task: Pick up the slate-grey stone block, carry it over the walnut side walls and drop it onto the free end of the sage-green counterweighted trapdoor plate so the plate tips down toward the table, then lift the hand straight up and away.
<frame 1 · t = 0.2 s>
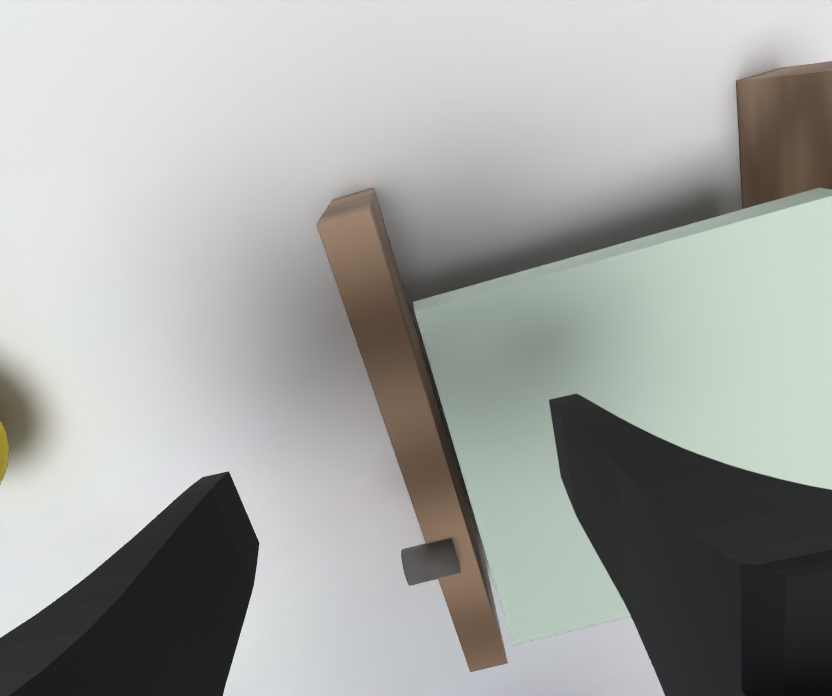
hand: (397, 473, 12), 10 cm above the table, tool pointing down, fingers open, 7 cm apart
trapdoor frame: (601, 426, 24), on the table
trapdoor: (627, 423, 20), point 4 cm above the table, hinge at 0.0°
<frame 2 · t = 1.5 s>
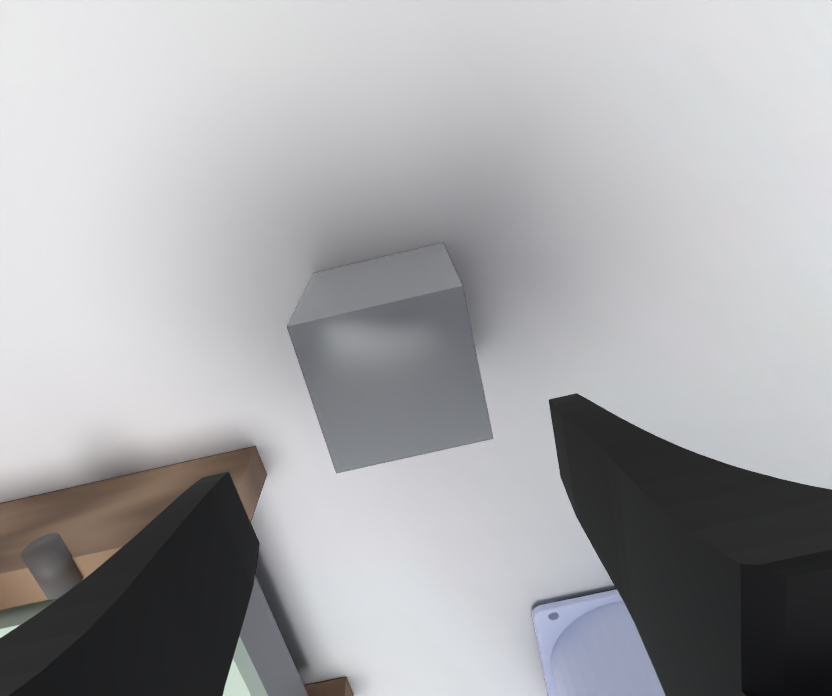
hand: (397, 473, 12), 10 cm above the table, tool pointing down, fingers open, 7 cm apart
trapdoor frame: (189, 610, 27), on the table
trapdoor: (111, 688, 24), point 3 cm above the table, hinge at 0.0°
stone: (393, 318, 22), on the table
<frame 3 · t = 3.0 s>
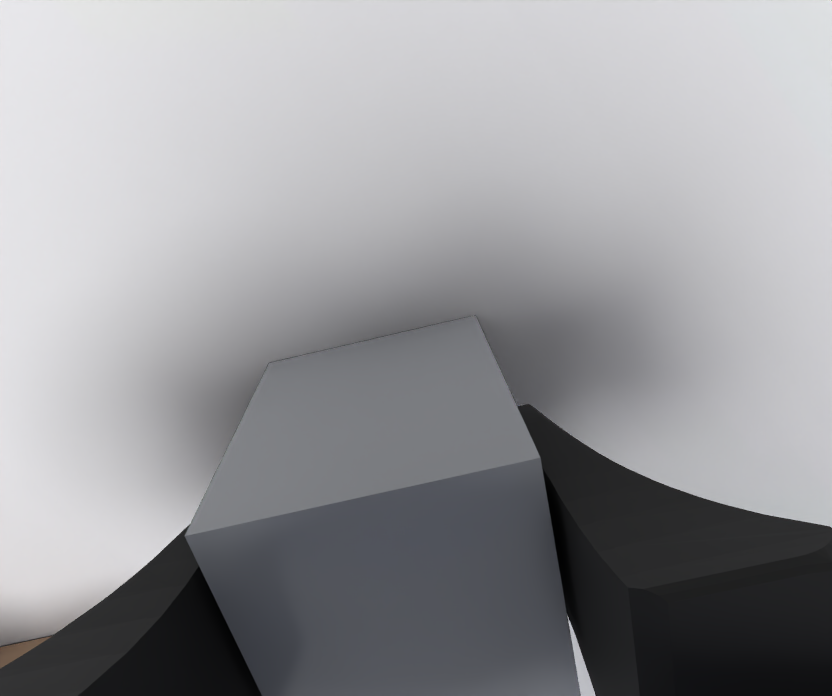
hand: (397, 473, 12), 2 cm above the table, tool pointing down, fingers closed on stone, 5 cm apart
stone: (396, 429, 14), on the table, touching gripper
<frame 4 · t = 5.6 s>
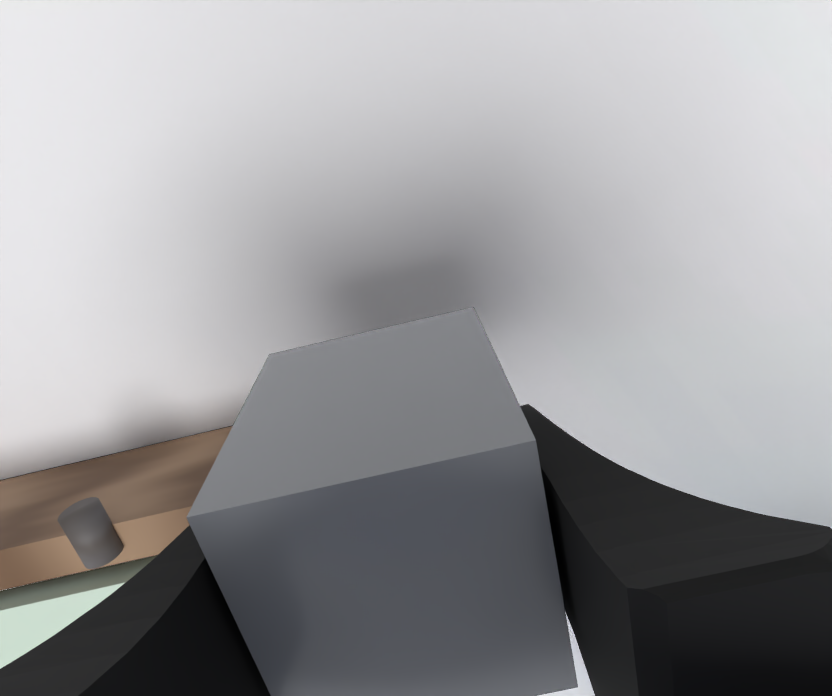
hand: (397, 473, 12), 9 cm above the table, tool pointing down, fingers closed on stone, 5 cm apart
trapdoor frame: (226, 590, 25), on the table
trapdoor: (148, 671, 22), point 3 cm above the table, hinge at 0.0°
stone: (395, 420, 14), point 7 cm above the table, touching gripper
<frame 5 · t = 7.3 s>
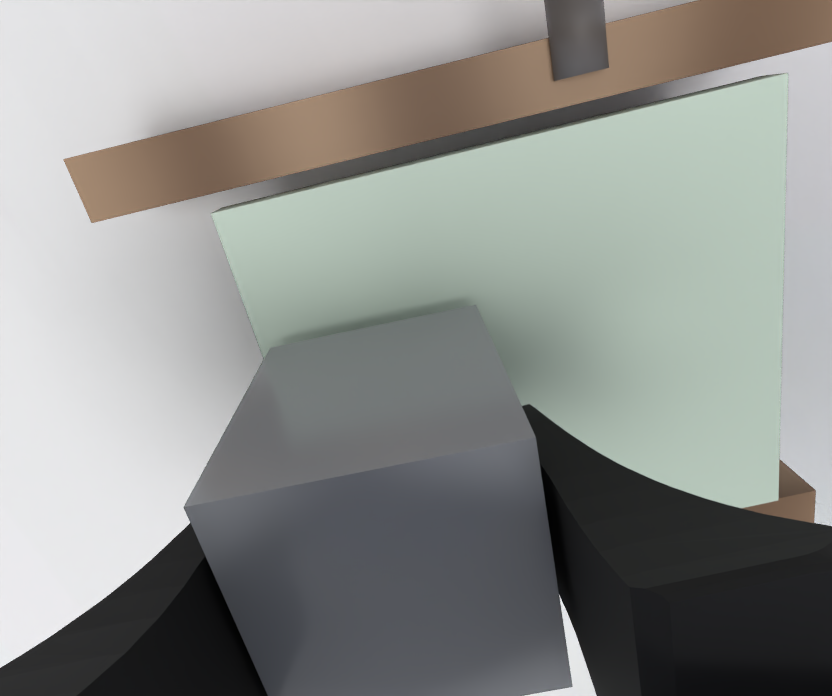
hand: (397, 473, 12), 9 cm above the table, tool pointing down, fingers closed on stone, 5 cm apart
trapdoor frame: (556, 297, 20), on the table
trapdoor: (515, 347, 17), point 3 cm above the table, hinge at 0.0°
stone: (395, 416, 14), point 6 cm above the table, touching gripper
when the fingers open (8 cm above the table, at t = 8.3 s): stone drops 2 cm, resting on trapdoor.
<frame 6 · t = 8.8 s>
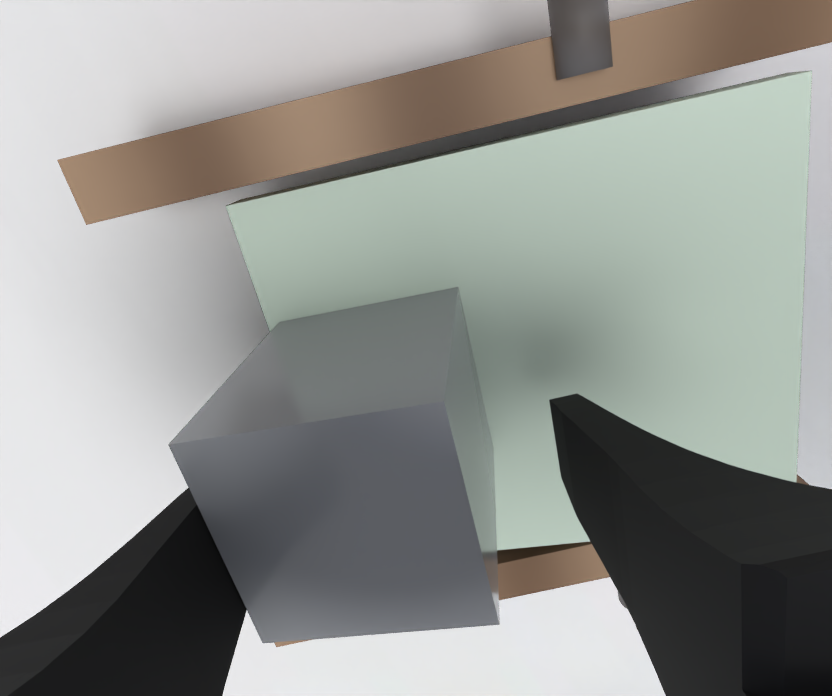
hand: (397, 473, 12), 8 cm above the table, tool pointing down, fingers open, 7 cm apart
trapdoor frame: (558, 299, 20), on the table
trapdoor: (523, 344, 17), point 3 cm above the table, hinge at -9.2°, touching stone
stone: (389, 387, 16), point 5 cm above the table, tilted 9°, touching gripper, trapdoor
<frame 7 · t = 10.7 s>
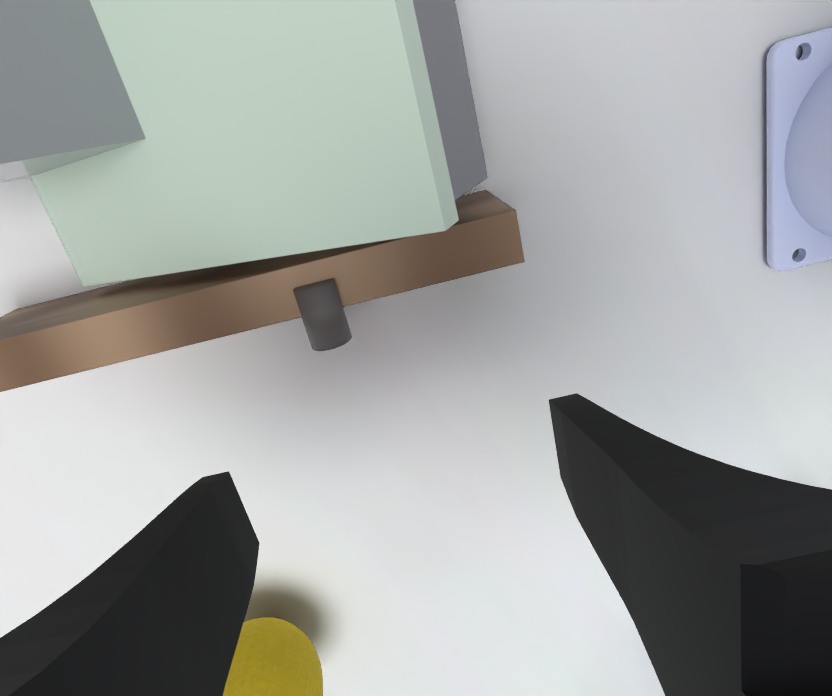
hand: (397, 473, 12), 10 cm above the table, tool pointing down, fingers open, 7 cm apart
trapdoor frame: (266, 37, 18), on the table
trapdoor: (200, 36, 16), point 3 cm above the table, hinge at -25.8°, touching stone
lemon: (274, 619, 28), on the table
stone: (47, 66, 16), point 3 cm above the table, tilted 26°, touching trapdoor
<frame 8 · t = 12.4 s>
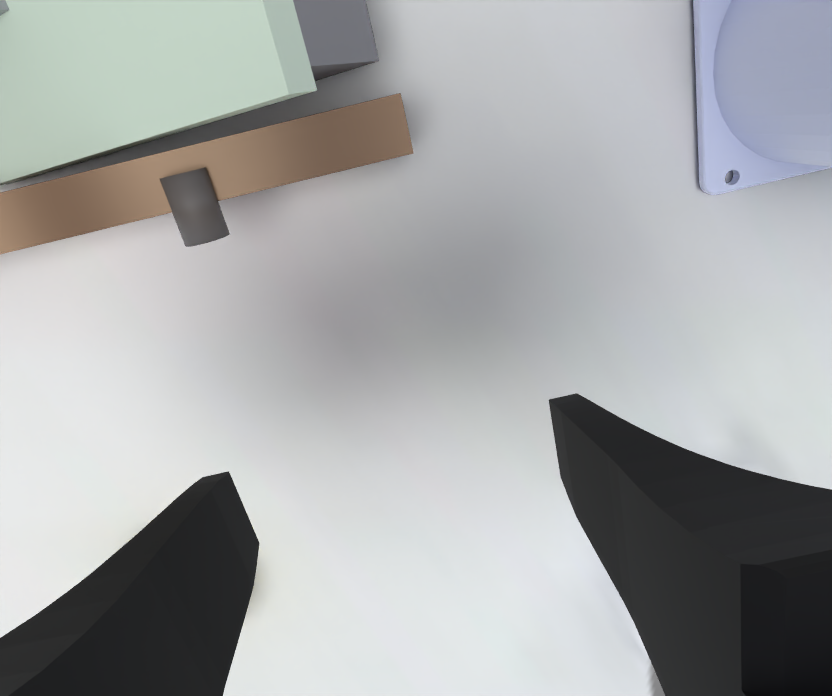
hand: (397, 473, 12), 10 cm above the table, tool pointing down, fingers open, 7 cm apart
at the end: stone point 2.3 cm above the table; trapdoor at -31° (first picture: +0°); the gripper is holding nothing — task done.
